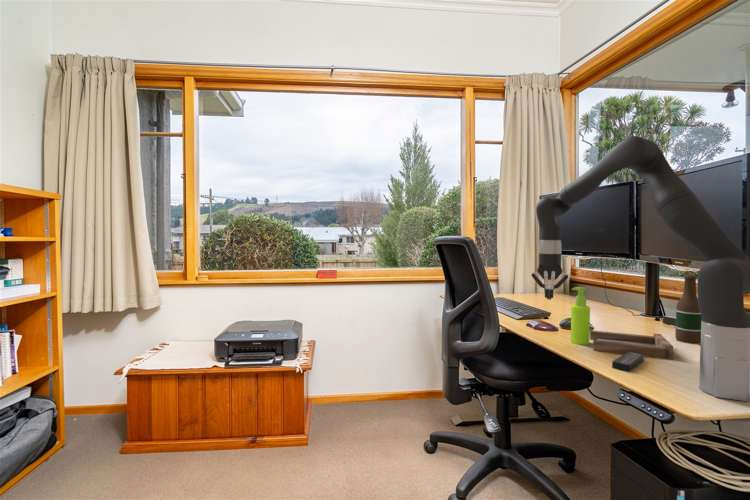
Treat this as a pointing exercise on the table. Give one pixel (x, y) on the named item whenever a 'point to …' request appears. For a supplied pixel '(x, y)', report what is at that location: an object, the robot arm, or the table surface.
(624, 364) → the multiport hub
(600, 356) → the table surface
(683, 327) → the beer bottle
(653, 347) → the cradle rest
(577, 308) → the soap dispenser
